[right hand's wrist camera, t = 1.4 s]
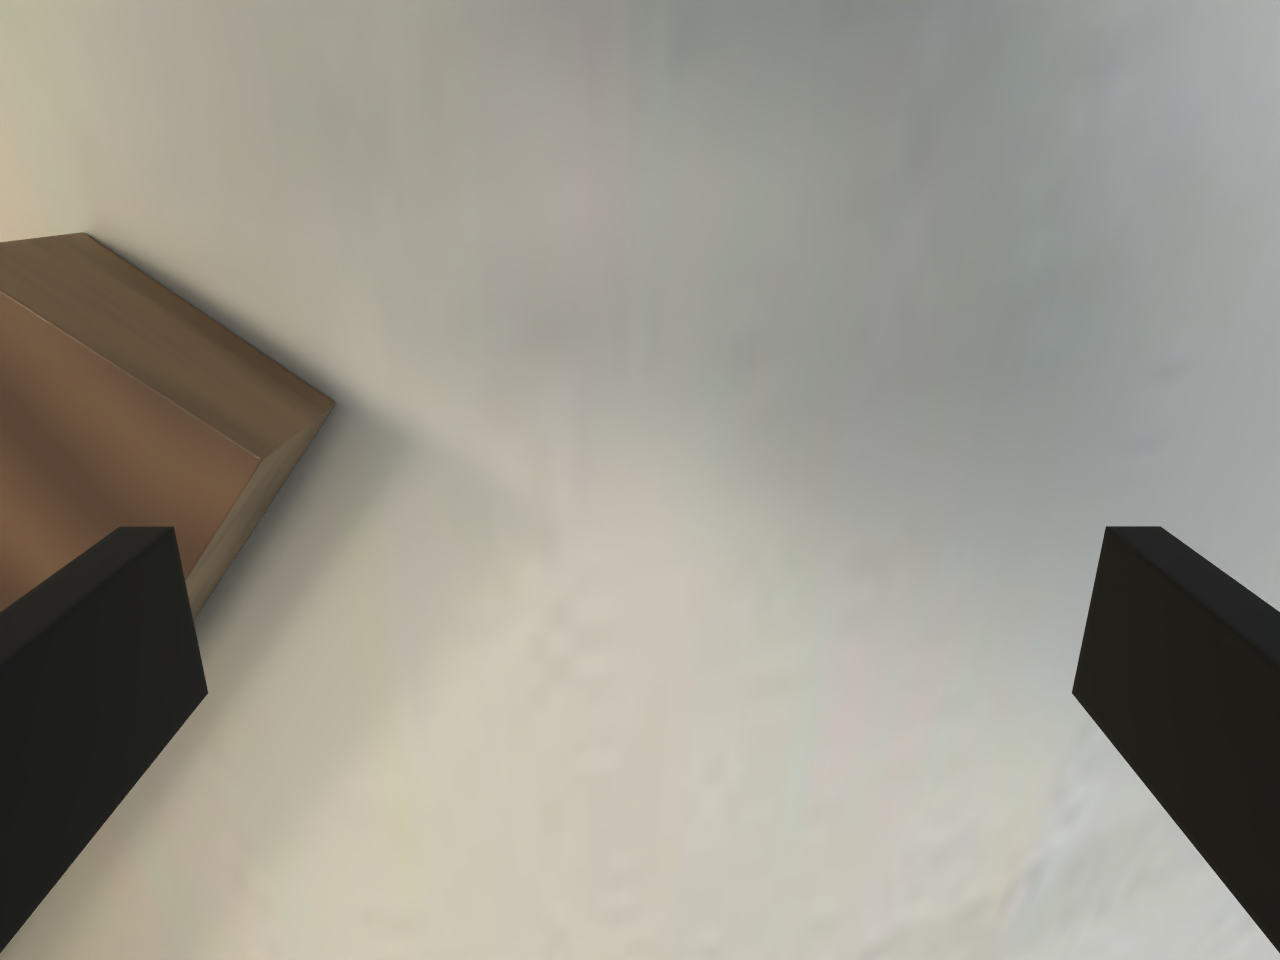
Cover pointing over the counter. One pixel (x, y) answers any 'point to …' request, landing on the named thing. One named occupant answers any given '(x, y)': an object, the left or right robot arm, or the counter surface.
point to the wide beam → (131, 417)
